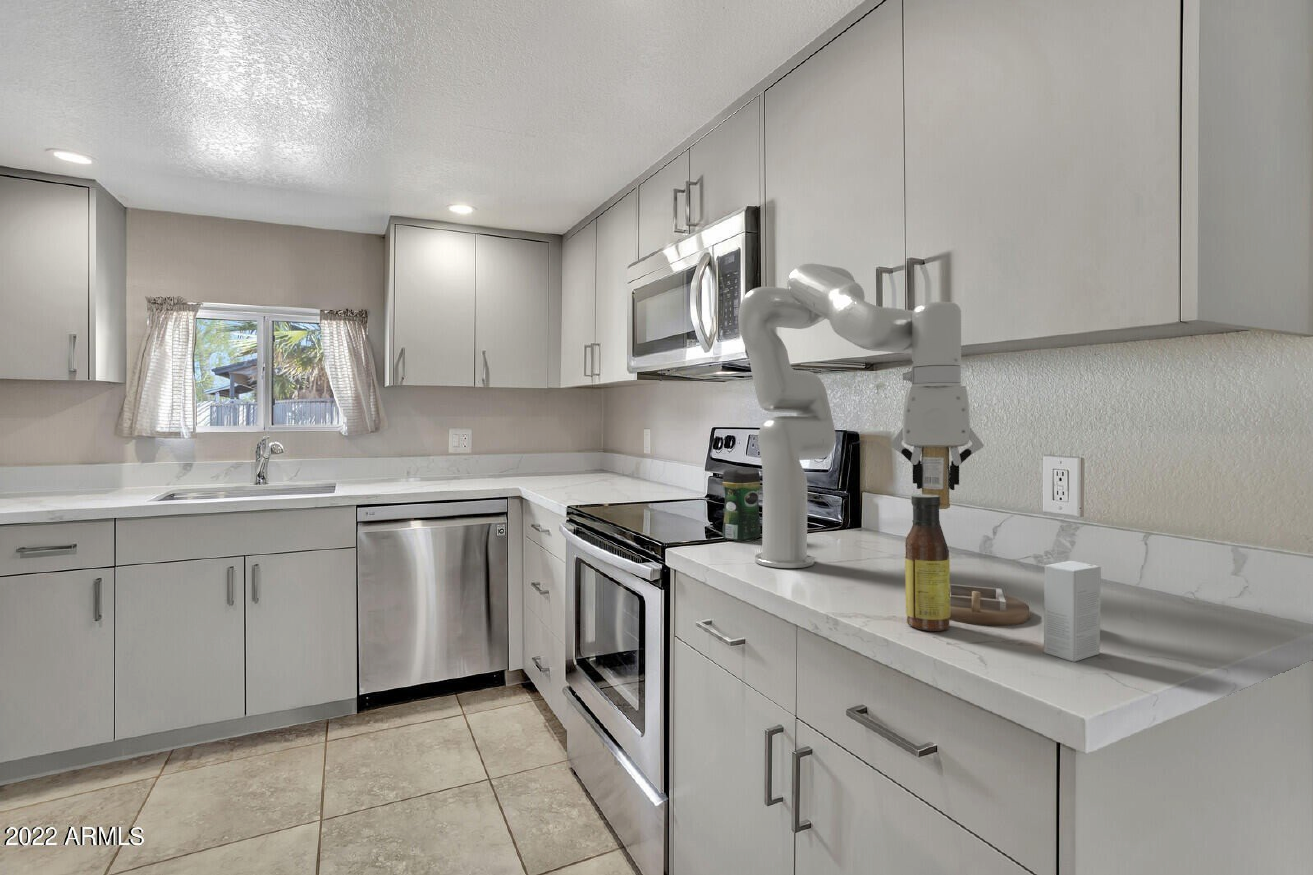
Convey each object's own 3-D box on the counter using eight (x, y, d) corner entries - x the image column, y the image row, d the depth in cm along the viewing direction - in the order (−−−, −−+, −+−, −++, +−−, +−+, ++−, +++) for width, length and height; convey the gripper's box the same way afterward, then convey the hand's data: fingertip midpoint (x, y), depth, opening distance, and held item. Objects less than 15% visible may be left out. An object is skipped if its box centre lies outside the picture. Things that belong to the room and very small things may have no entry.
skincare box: (1067, 645, 93) (1070, 559, 92) (1100, 655, 89) (1102, 566, 89) (1041, 652, 90) (1043, 564, 90) (1073, 663, 86) (1076, 570, 86)
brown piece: (921, 593, 120) (922, 568, 120) (1023, 603, 114) (1023, 577, 114) (919, 617, 105) (920, 589, 105) (1035, 631, 99) (1036, 600, 99)
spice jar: (955, 508, 110) (956, 426, 110) (938, 510, 108) (939, 426, 108) (931, 505, 114) (931, 426, 114) (914, 507, 112) (914, 426, 111)
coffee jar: (743, 535, 178) (744, 465, 177) (765, 539, 172) (766, 467, 171) (716, 539, 172) (717, 467, 172) (738, 543, 166) (738, 469, 165)
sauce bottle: (959, 629, 100) (961, 496, 99) (931, 635, 97) (933, 499, 96) (922, 617, 105) (924, 492, 105) (895, 623, 102) (896, 494, 102)
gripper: (880, 378, 111) (880, 489, 111) (994, 375, 104) (993, 492, 104) (884, 381, 117) (884, 485, 118) (991, 378, 111) (991, 488, 111)
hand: (935, 487), depth 111 cm, fingers closed on spice jar, 4 cm apart
